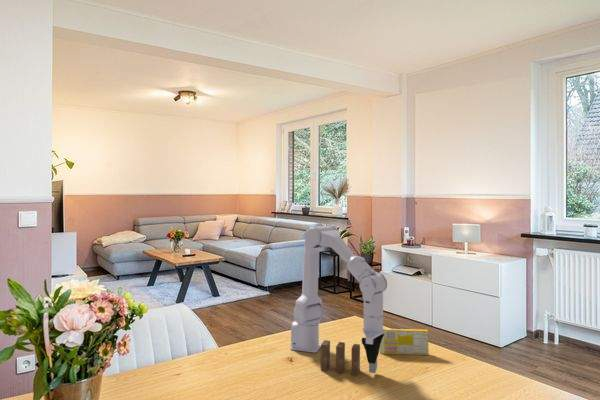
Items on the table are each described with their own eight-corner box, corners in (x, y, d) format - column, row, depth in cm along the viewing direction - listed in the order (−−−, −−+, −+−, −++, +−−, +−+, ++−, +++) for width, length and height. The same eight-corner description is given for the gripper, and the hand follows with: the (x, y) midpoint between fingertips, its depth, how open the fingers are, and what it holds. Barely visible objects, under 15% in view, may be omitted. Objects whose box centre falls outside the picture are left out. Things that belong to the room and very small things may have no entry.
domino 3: (351, 374, 124) (351, 348, 124) (354, 369, 128) (354, 343, 127) (357, 375, 123) (357, 349, 123) (359, 370, 127) (359, 344, 127)
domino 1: (320, 370, 127) (320, 344, 127) (324, 365, 131) (324, 340, 130) (326, 371, 126) (326, 345, 126) (329, 365, 130) (329, 340, 130)
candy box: (427, 353, 141) (427, 329, 140) (428, 355, 138) (428, 331, 138) (379, 351, 142) (379, 327, 142) (379, 353, 140) (379, 329, 140)
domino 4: (369, 372, 122) (369, 345, 122) (371, 366, 126) (371, 340, 126) (375, 373, 121) (375, 346, 121) (377, 367, 125) (377, 341, 125)
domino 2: (335, 372, 125) (336, 346, 125) (339, 367, 129) (339, 341, 129) (341, 373, 125) (341, 347, 125) (344, 368, 128) (344, 342, 128)
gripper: (383, 323, 115) (383, 371, 115) (389, 309, 129) (389, 352, 129) (358, 320, 117) (358, 368, 118) (367, 307, 131) (366, 349, 131)
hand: (373, 359), depth 124 cm, fingers closed on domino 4, 4 cm apart
